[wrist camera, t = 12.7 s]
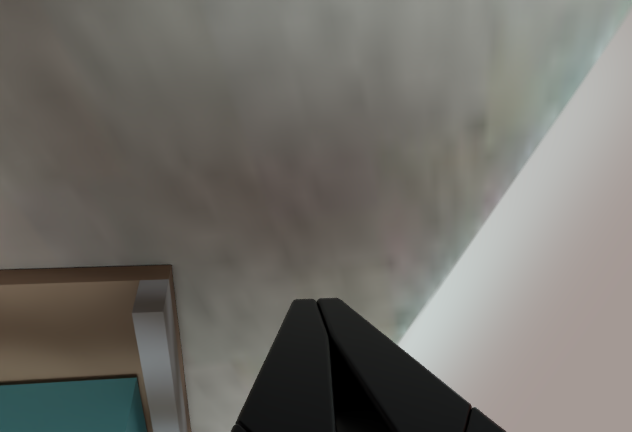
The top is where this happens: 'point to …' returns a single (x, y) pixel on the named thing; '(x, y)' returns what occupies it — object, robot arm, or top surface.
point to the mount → (97, 333)
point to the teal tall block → (72, 407)
